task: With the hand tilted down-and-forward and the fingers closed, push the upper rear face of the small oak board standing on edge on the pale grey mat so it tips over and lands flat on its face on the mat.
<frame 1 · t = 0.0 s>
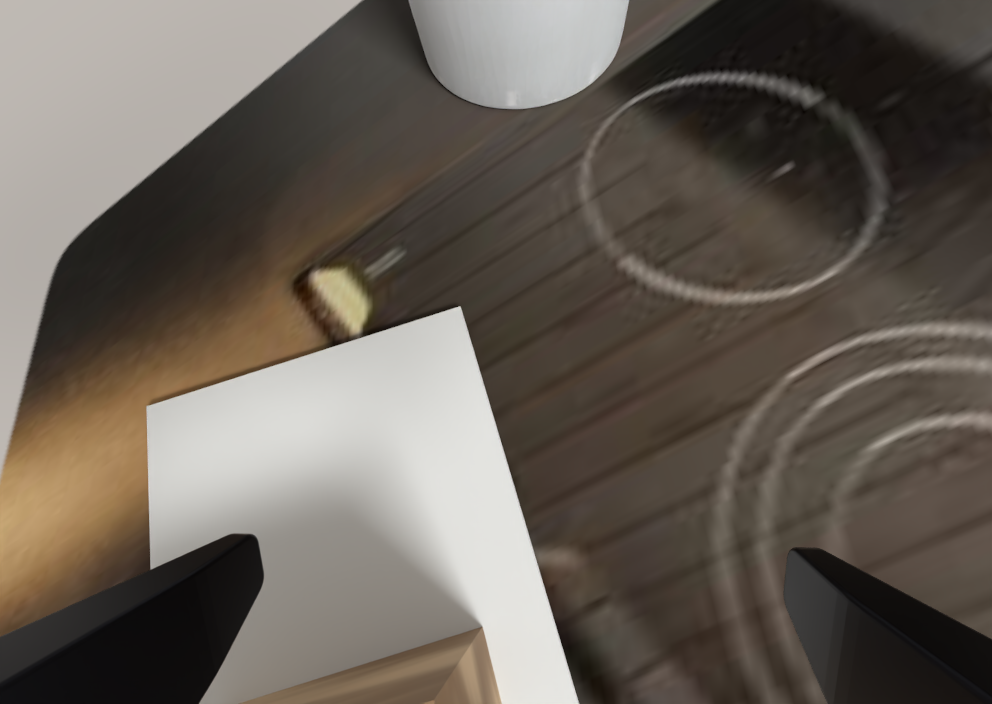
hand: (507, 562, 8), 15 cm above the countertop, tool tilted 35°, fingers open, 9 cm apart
utensil holder: (525, 39, 33), on the countertop
mat: (344, 590, 22), on the countertop
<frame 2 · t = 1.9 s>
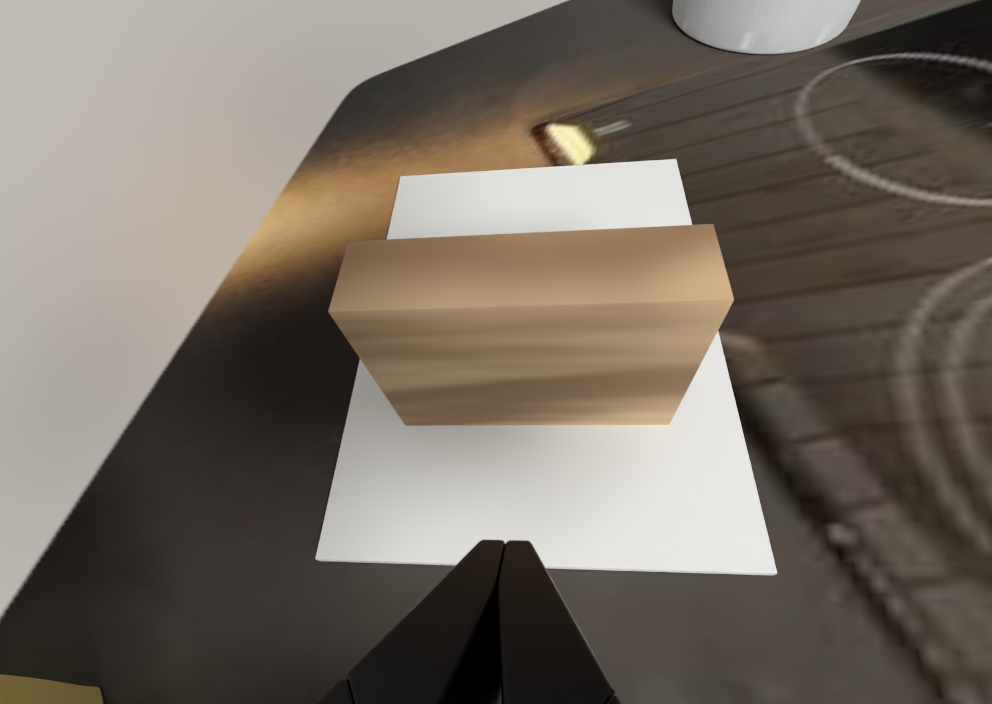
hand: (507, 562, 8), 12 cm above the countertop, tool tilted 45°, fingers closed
utensil holder: (758, 16, 39), on the countertop
oak board: (533, 395, 22), resting on mat
mat: (534, 322, 25), on the countertop
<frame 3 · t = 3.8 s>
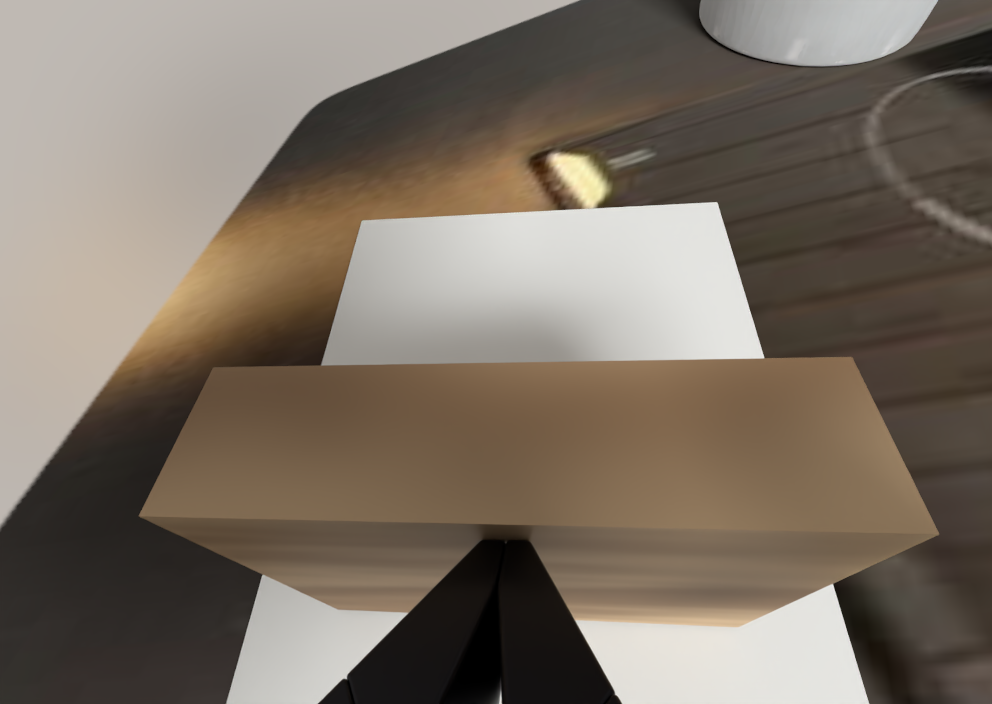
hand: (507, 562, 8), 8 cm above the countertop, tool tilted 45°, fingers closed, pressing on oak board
utensil holder: (804, 20, 33), on the countertop
oak board: (529, 564, 15), point 1 cm above the countertop, touching gripper, mat
mat: (531, 437, 18), on the countertop
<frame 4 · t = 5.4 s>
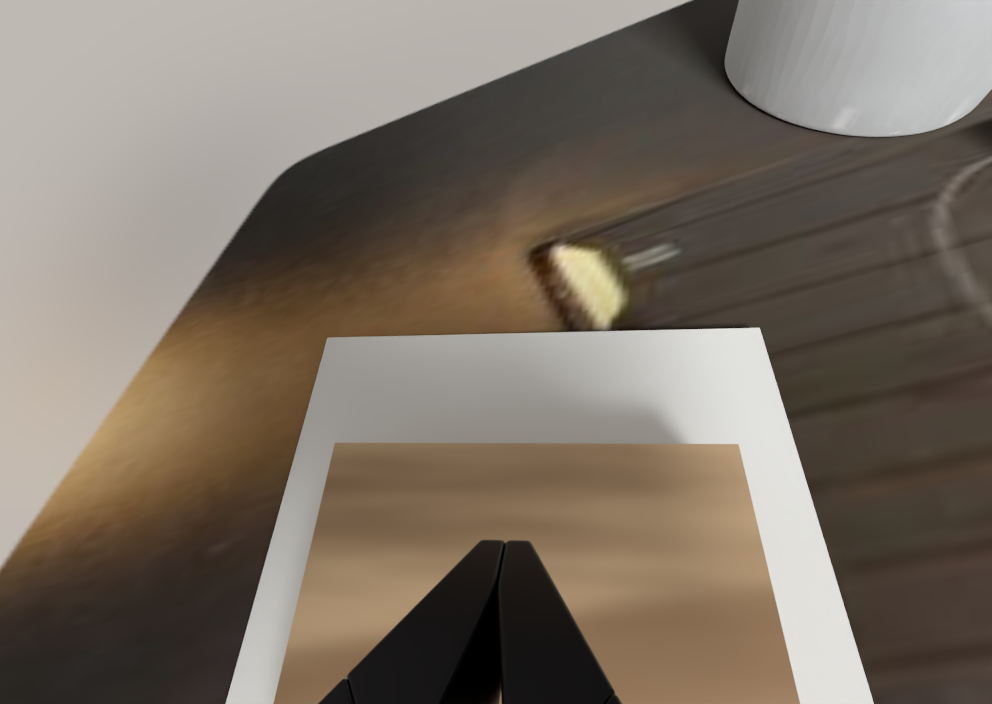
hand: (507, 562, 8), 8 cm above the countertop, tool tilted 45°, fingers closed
utensil holder: (847, 74, 28), on the countertop
mat: (531, 680, 14), on the countertop
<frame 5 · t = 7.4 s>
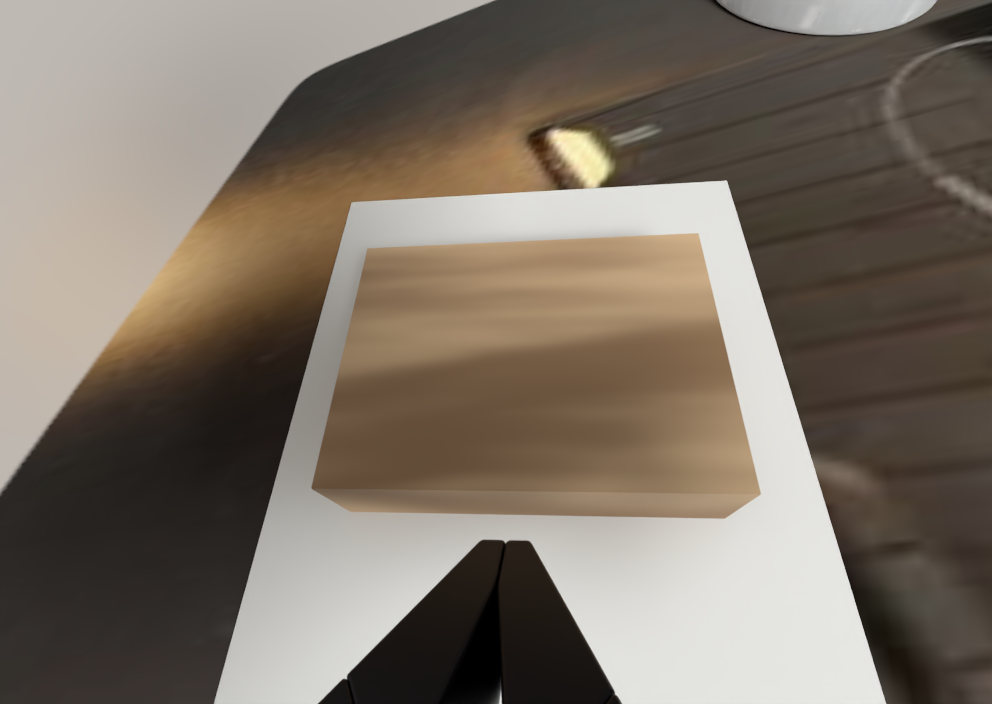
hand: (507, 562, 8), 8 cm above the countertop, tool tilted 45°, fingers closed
oak board: (527, 504, 14), point 2 cm above the countertop, tilted 90°, touching mat
mat: (530, 431, 17), on the countertop
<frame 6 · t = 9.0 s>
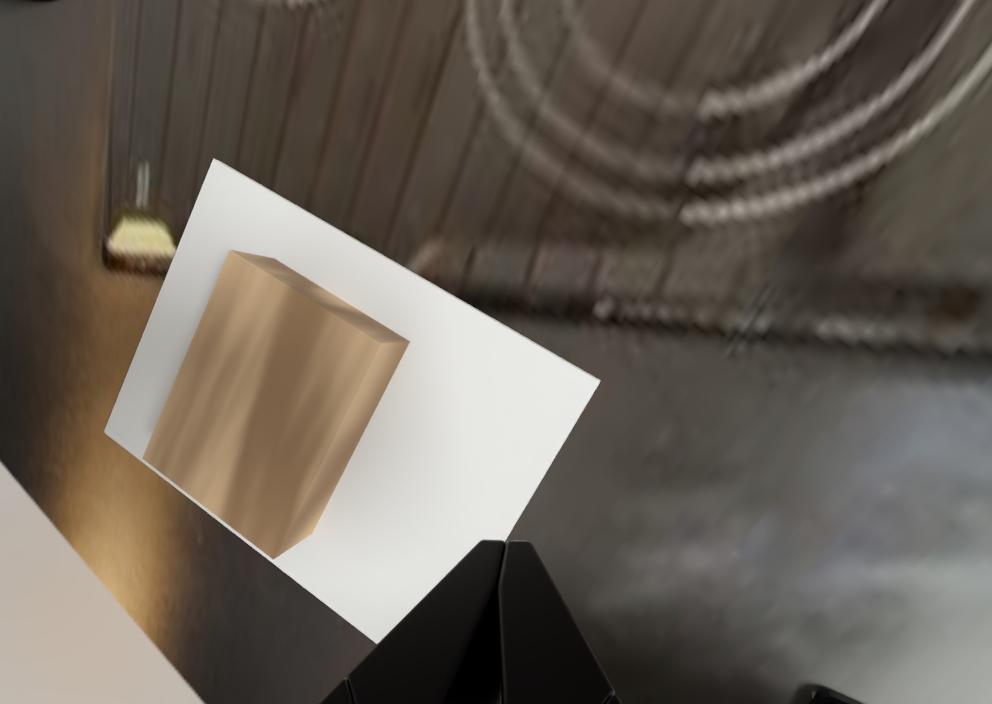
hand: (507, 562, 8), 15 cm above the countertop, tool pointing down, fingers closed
oak board: (343, 448, 23), point 2 cm above the countertop, tilted 90°, touching mat
mat: (320, 409, 26), on the countertop
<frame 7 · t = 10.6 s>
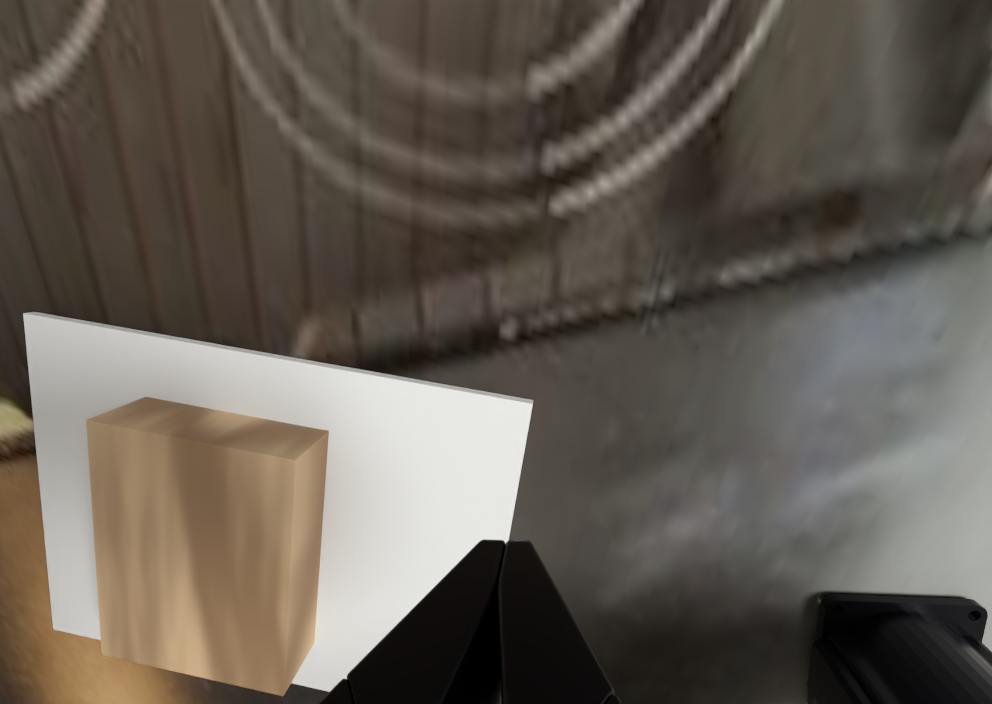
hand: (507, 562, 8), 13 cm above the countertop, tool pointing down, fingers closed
oak board: (306, 563, 22), point 2 cm above the countertop, tilted 90°, touching mat
mat: (268, 525, 24), on the countertop
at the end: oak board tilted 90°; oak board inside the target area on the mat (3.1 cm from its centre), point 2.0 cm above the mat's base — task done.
